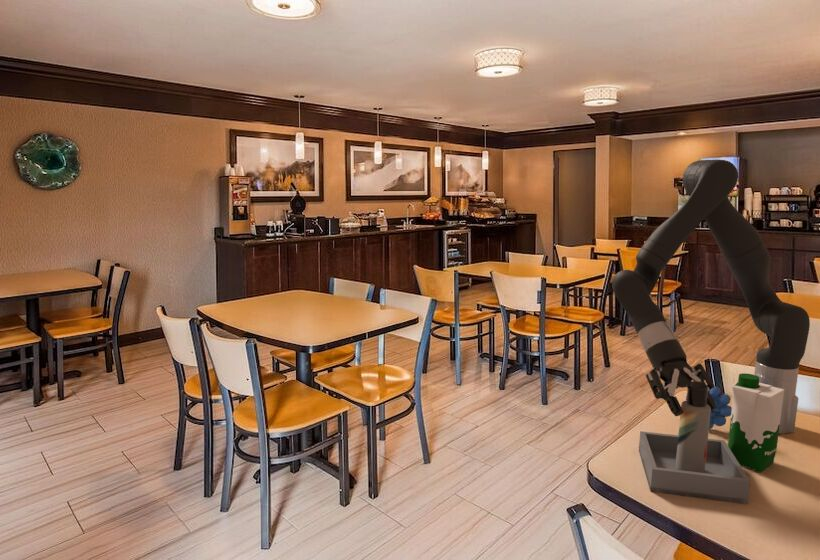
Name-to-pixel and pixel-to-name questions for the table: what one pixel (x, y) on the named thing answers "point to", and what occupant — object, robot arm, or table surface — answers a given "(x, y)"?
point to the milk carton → (754, 422)
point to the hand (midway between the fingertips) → (696, 412)
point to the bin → (715, 483)
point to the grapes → (719, 407)
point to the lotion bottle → (693, 429)
